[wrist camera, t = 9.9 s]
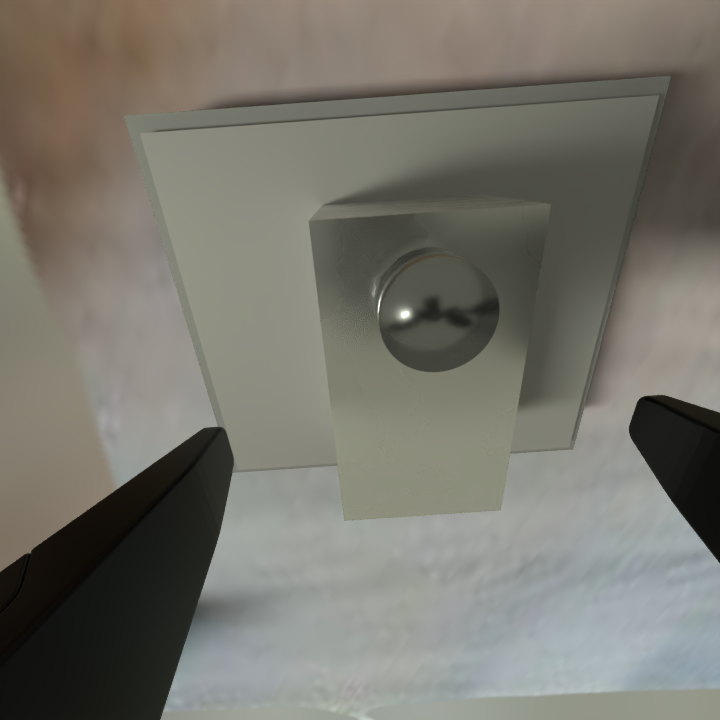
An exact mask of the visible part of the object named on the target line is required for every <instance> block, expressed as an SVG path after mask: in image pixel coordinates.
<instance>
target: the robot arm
mask: <svg viewBox="0 0 720 720" xmlns="http://www.w3.org/2000/svg"><path fill="white" fill-rule="evenodd" d="M629 434H630V437H631V439H632V441H633V442H634V444H635V445H636V447H637V448H638V450H639V451H640V453H641V455H642V456H643V458H644V459H645V461H646V462H647V464H648V465H649V467H650V469H651V470H652V472H653V473H654V475H655V476H656V478H657V479H658V481H659V483H660V484H661V486H662V487H663V489H664V490H665V492H666V493H667V495H668V496H669V498H670V499H671V501H672V502H673V503H674V505H675V506H676V507H677V509H678V510H679V512H680V513H681V514H682V515H683V517H684V518H685V519H686V521H687V522H688V523H689V524H690V526H691V527H692V528H693V530H694V531H695V532H696V533H697V535H698V536H699V537H700V539H701V540H702V541H703V542H704V544H705V545H706V546H707V548H708V549H709V550H710V551H711V553H712V554H713V555H714V557H715V558H716V559H717V560H718V562H719V563H720V413H719V412H716V411H713V410H709V409H706V408H703V407H700V406H697V405H694V404H691V403H688V402H684V401H681V400H678V399H675V398H672V397H669V396H665V395H653V396H644V397H641V398H640V399H639V400H638V402H637V405H636V408H635V411H634V414H633V416H632V419H631V422H630V425H629ZM233 467H234V457H233V453H232V449H231V446H230V443H229V439H228V436H227V433H226V430H225V429H224V428H223V427H209V428H203V429H202V430H200V431H199V432H197V433H196V434H195V435H193V436H192V437H190V438H189V439H188V440H186V441H185V442H183V443H182V444H180V445H179V446H178V447H176V448H175V449H173V450H172V451H171V452H169V453H168V454H166V455H165V456H164V457H162V458H161V459H159V460H158V461H156V462H155V463H154V464H152V465H151V466H149V467H148V468H147V469H145V470H144V471H142V472H141V473H139V474H138V475H137V476H135V477H134V478H132V479H131V480H130V481H128V482H127V483H125V484H124V485H123V486H121V487H120V488H118V489H117V490H115V491H114V492H113V493H111V494H110V495H108V496H107V497H106V498H104V499H103V500H102V501H100V502H98V503H97V504H96V505H94V506H93V507H91V508H90V509H89V510H87V511H86V512H84V513H83V514H82V515H80V516H79V517H77V518H76V519H74V520H73V521H72V522H70V523H69V524H67V525H66V526H65V527H63V528H62V529H60V530H59V531H57V532H56V533H55V534H53V535H52V536H50V537H49V538H48V539H46V540H45V541H43V542H42V543H41V544H39V545H38V546H36V547H35V548H34V549H33V550H32V551H31V554H30V553H27V554H25V555H23V556H22V557H21V558H19V559H18V560H16V561H15V562H14V563H12V564H11V565H9V566H8V567H7V568H5V569H4V570H2V571H1V572H0V720H160V719H161V716H162V713H163V710H164V707H165V704H166V700H167V697H168V694H169V691H170V688H171V685H172V682H173V679H174V675H175V672H176V669H177V666H178V663H179V660H180V657H181V654H182V650H183V647H184V644H185V641H186V638H187V635H188V632H189V629H190V625H191V622H192V619H193V616H194V613H195V610H196V607H197V604H198V600H199V597H200V594H201V591H202V588H203V585H204V582H205V579H206V576H207V572H208V569H209V566H210V563H211V560H212V557H213V554H214V551H215V547H216V544H217V541H218V537H219V534H220V530H221V526H222V521H223V516H224V511H225V506H226V501H227V497H228V492H229V487H230V482H231V477H232V472H233Z"/></svg>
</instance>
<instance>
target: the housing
mask: <svg viewBox="0 0 720 720" xmlns="http://www.w3.org/2000/svg"><path fill="white" fill-rule="evenodd" d="M550 209H551V204H549V203H541V202H534V201H527V200H520V199H513V198H505V197H498V196H491V195H484V194H473V195H459V196H444V197H430V198H416V199H401V200H387V201H373V202H358V203H344V204H329V205H322V206H321V207H320V208H319V210H318V211H317V212H316V213H315V214H314V215H313V216H312V217H311V219H310V220H309V229H310V238H311V246H312V254H313V263H314V271H315V279H316V288H317V296H318V305H319V313H320V321H321V330H322V338H323V346H324V355H325V363H326V372H327V380H328V388H329V397H330V405H331V413H332V422H333V430H334V439H335V447H336V455H337V464H338V472H339V480H340V489H341V497H342V506H343V514H344V521H346V520H361V519H376V518H391V517H406V516H421V515H436V514H452V513H467V512H482V511H497V510H501V506H502V500H503V494H504V488H505V482H506V476H507V469H508V463H509V457H510V451H511V445H512V439H513V433H514V427H515V421H516V415H517V409H518V403H519V397H520V391H521V385H522V378H523V372H524V366H525V360H526V354H527V348H528V342H529V336H530V330H531V324H532V318H533V312H534V306H535V300H536V294H537V287H538V281H539V275H540V269H541V263H542V257H543V251H544V245H545V239H546V233H547V227H548V221H549V215H550Z"/></svg>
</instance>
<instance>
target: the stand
mask: <svg viewBox="0 0 720 720" xmlns="http://www.w3.org/2000/svg"><path fill="white" fill-rule="evenodd" d="M670 79H671V76H659V77H645V78H632V79H618V80H605V81H591V82H577V83H564V84H550V85H537V86H523V87H510V88H496V89H482V90H469V91H455V92H442V93H428V94H415V95H401V96H387V97H374V98H360V99H347V100H333V101H320V102H306V103H293V104H279V105H265V106H252V107H238V108H225V109H211V110H198V111H184V112H170V113H157V114H143V115H130V116H124V118H125V121H126V124H127V127H128V131H129V134H130V137H131V141H132V144H133V147H134V151H135V154H136V157H137V161H138V164H139V167H140V170H141V174H142V177H143V180H144V184H145V187H146V190H147V194H148V197H149V200H150V203H151V207H152V210H153V213H154V217H155V220H156V223H157V227H158V230H159V233H160V237H161V240H162V243H163V246H164V250H165V253H166V256H167V260H168V263H169V266H170V270H171V273H172V276H173V279H174V283H175V286H176V289H177V293H178V296H179V299H180V303H181V306H182V309H183V312H184V316H185V319H186V322H187V326H188V329H189V332H190V336H191V339H192V342H193V346H194V349H195V352H196V355H197V359H198V362H199V365H200V369H201V372H202V375H203V379H204V382H205V385H206V388H207V392H208V395H209V398H210V402H211V405H212V408H213V412H214V415H215V418H216V422H217V425H218V427H223V428H224V429H225V430H226V433H227V436H228V439H229V443H230V446H231V449H232V453H233V457H234V467H233V472H232V473H235V472H250V471H264V470H279V469H293V468H308V467H322V466H337V465H338V464H337V455H336V447H335V439H334V430H333V422H332V413H331V405H330V397H329V388H328V380H327V372H326V363H325V355H324V346H323V338H322V330H321V321H320V313H319V305H318V296H317V288H316V279H315V271H314V263H313V254H312V246H311V238H310V229H309V220H310V219H311V217H312V216H313V215H314V214H315V213H316V212H317V211H318V210H319V208H320V207H321V206H322V205H329V204H344V203H358V202H373V201H387V200H401V199H416V198H430V197H444V196H459V195H473V194H484V195H491V196H498V197H505V198H513V199H520V200H527V201H534V202H541V203H549V204H551V209H550V215H549V221H548V227H547V233H546V239H545V245H544V251H543V257H542V263H541V269H540V275H539V281H538V287H537V294H536V300H535V306H534V312H533V318H532V324H531V330H530V336H529V342H528V348H527V354H526V360H525V366H524V372H523V378H522V385H521V391H520V397H519V403H518V409H517V415H516V421H515V427H514V433H513V439H512V445H511V451H510V454H511V453H526V452H540V451H555V450H570V449H573V448H574V444H575V440H576V437H577V433H578V429H579V425H580V421H581V418H582V414H583V410H584V406H585V402H586V399H587V395H588V391H589V387H590V383H591V380H592V376H593V372H594V368H595V364H596V361H597V357H598V353H599V349H600V345H601V342H602V338H603V334H604V330H605V326H606V323H607V319H608V315H609V311H610V307H611V304H612V300H613V296H614V292H615V288H616V285H617V281H618V277H619V273H620V269H621V266H622V262H623V258H624V254H625V250H626V247H627V243H628V239H629V235H630V231H631V228H632V224H633V220H634V216H635V212H636V209H637V205H638V201H639V197H640V193H641V190H642V186H643V182H644V178H645V174H646V171H647V167H648V163H649V159H650V155H651V152H652V148H653V144H654V140H655V136H656V132H657V129H658V125H659V121H660V117H661V113H662V110H663V106H664V102H665V98H666V94H667V91H668V87H669V83H670Z"/></svg>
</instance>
